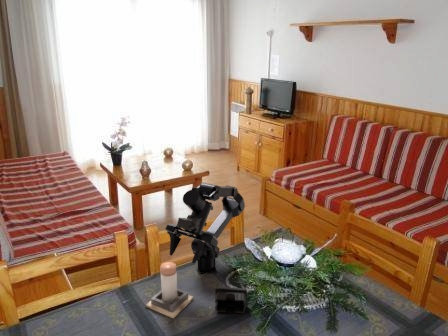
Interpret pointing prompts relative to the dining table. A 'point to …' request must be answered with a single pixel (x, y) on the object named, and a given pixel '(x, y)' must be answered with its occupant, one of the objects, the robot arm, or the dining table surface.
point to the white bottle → (169, 282)
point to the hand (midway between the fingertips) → (181, 259)
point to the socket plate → (167, 308)
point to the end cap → (230, 301)
